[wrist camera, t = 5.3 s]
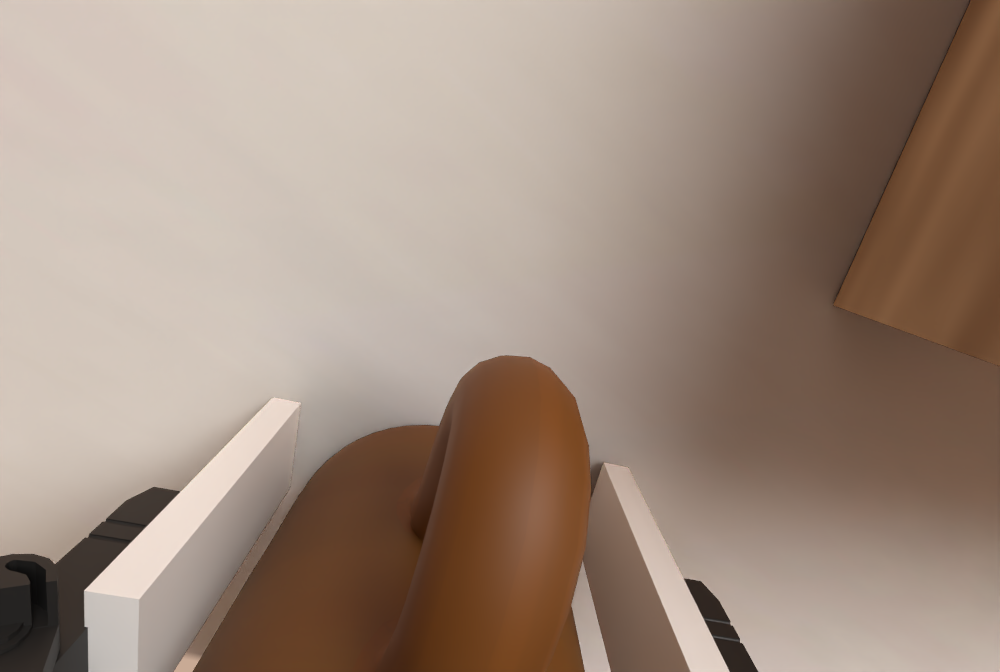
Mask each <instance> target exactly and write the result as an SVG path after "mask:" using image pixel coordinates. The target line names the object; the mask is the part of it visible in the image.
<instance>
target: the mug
mask: <svg viewBox="0 0 1000 672" xmlns="http://www.w3.org/2000/svg"><path fill="white" fill-rule="evenodd" d="M590 497H591V476H590V460H589V445H588V442H587V438H586V435H585V431H584V428H583V424H582V421H581V417H580V413H579V410H578V406H577V403H576V399H575V397H574V396H573V395H572V394H571V392H570V391H569V390H568V389H567V387H566V386H565V385H564V384H563V383H562V381H561V380H560V379H559V378H558V377H557V375H556V374H555V373H554V372H553V371H552V370H551V368H549V367H547V366H545V365H543V364H542V363H540V362H538V361H536V360H534V359H532V358H530V357H521V356H507V355H506V356H498V357H495V358H492V359H489V360H486V361H482V362H479V363H478V364H477V365H476V366H475V367H473V368H472V369H471V370H470V371H469V372H468V373H466V374H465V375H464V376H463V377H462V378H461V380H460V381H459V383H458V385H457V387H456V389H455V391H454V393H453V395H452V397H451V398H450V400H449V403H448V405H447V407H446V409H445V412H444V415H443V417H442V420H441V423H440V426H431V425H412V426H402V427H395V428H390V429H386V430H382V431H379V432H375V433H372V434H370V435H368V436H365V437H363V438H360V439H358V440H356V441H355V442H353V443H351V444H349V445H348V446H346V447H344V448H343V449H342V450H340V451H339V452H338V453H336V454H335V455H334V456H332V457H331V458H330V459H329V460H328V461H327V462H326V463H325V464H324V465H323V466H322V467H321V468H320V469H319V470H318V471H317V472H316V473H315V474H314V475H313V477H312V478H311V479H310V481H309V482H308V484H307V485H306V486H305V488H304V489H303V491H302V492H301V493H300V495H299V496H298V498H297V499H296V501H295V503H294V504H293V506H292V508H291V509H290V511H289V513H288V514H287V516H286V518H285V519H284V521H283V523H282V524H281V526H280V528H279V530H278V531H277V533H276V535H275V536H274V538H273V540H272V541H271V543H270V544H269V546H268V548H267V549H266V551H265V552H264V554H263V556H262V557H261V559H260V560H259V562H258V564H257V565H256V567H255V568H254V570H253V572H252V573H251V575H250V576H249V578H248V580H247V581H246V583H245V585H244V586H243V588H242V590H241V591H240V593H239V595H238V596H237V598H236V600H235V601H234V603H233V605H232V606H231V608H230V610H229V611H228V613H227V615H226V617H225V618H224V620H223V622H222V623H221V625H220V627H219V628H218V630H217V632H216V633H215V635H214V637H213V638H212V640H211V642H210V643H209V645H208V647H207V648H206V650H205V652H204V654H203V655H202V657H201V659H200V660H199V662H198V664H197V665H196V667H195V669H194V670H193V672H585V670H584V665H583V660H582V655H581V650H580V645H579V640H578V635H577V630H576V626H575V621H574V616H573V611H572V607H571V603H572V599H573V595H574V592H575V588H576V584H577V580H578V576H579V572H580V568H581V564H582V560H583V556H584V552H585V548H586V539H587V529H588V518H589V507H590Z"/></svg>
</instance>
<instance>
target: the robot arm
mask: <svg viewBox="0 0 1000 672" xmlns="http://www.w3.org/2000/svg"><path fill="white" fill-rule="evenodd" d="M300 407H301V403H299V402H294V401H289V400H284V399H279V398H274V397H273V398H272V399H271V400H270V401H269V402H268V403H267V404H266V405H265V406H264V407H263V408H262V409H261V410H260V411H259V412H258V413H257V414H256V415H255V416H254V417H253V418H252V419H251V420H250V421H249V422H248V423H247V424H246V425H245V426H244V427H243V428H242V429H241V430H240V431H239V432H238V433H237V434H236V435H235V436H234V438H233V439H232V440H231V441H230V442H229V443H228V444H227V445H226V446H225V447H224V448H223V449H222V450H221V451H220V452H219V453H218V454H217V455H216V456H215V457H214V458H213V459H212V460H211V461H210V462H209V463H208V464H207V465H206V466H205V467H204V468H203V469H202V470H201V471H200V472H199V473H198V474H197V475H196V476H195V478H194V479H193V480H192V481H191V482H190V483H189V484H188V485H187V486H186V487H185V488H184V489H183V490H182V491H181V492H180V491H174V490H168V489H163V488H157V487H153V488H151V489H149V490H147V491H145V492H143V493H141V494H139V495H137V496H135V497H133V498H131V499H129V500H127V501H125V502H124V503H123V504H122V505H121V506H120V507H119V508H118V509H117V510H115V511H114V512H113V513H112V514H111V515H110V516H109V517H108V518H107V519H106V521H105V522H102V523H101V524H100V525H99V526H98V527H96V528H95V529H94V530H93V531H92V532H91V533H90V534H89V537H88V538H84V539H83V540H82V541H81V542H80V543H79V544H77V545H76V546H75V547H74V548H73V549H72V550H71V551H70V552H69V553H67V554H66V555H65V556H64V557H63V558H62V559H61V560H60V561H58V562H57V563H56V564H54V563H53V562H52V561H51V560H50V559H49V558H45V557H42V556H38V555H35V554H11V555H6V556H1V557H0V672H174V670H175V669H176V667H177V665H178V664H179V662H180V661H181V659H182V657H183V656H184V654H185V653H186V651H187V650H188V648H189V646H190V645H191V643H192V642H193V640H194V639H195V637H196V635H197V634H198V632H199V631H200V629H201V627H202V626H203V624H204V623H205V621H206V620H207V618H208V616H209V615H210V613H211V612H212V610H213V609H214V607H215V605H216V604H217V602H218V601H219V599H220V597H221V596H222V594H223V593H224V591H225V590H226V588H227V586H228V585H229V583H230V582H231V580H232V579H233V577H234V575H235V574H236V572H237V571H238V569H239V567H240V566H241V564H242V563H243V561H244V560H245V558H246V556H247V555H248V553H249V552H250V550H251V549H252V547H253V545H254V544H255V542H256V541H257V539H258V537H259V536H260V534H261V533H262V531H263V530H264V528H265V526H266V525H267V523H268V522H269V520H270V519H271V517H272V515H273V514H274V512H275V511H276V509H277V507H278V506H279V504H280V503H281V501H282V500H283V498H284V496H285V495H286V493H287V492H288V490H289V488H290V485H291V478H292V470H293V462H294V454H295V446H296V439H297V431H298V423H299V415H300ZM583 563H584V567H585V571H586V575H587V579H588V582H589V586H590V590H591V594H592V598H593V602H594V606H595V610H596V614H597V618H598V622H599V626H600V630H601V634H602V638H603V642H604V645H605V649H606V653H607V657H608V661H609V665H610V669H611V672H758V671H757V669H756V667H755V665H754V663H753V662H752V660H751V658H750V656H749V654H748V653H747V651H746V649H745V647H744V645H743V644H742V643H740V638H739V636H738V634H737V633H736V631H735V629H734V627H733V626H731V625H730V620H729V618H728V616H727V614H726V613H725V611H724V609H723V607H722V605H721V604H720V602H719V600H718V599H717V598H716V597H715V596H714V595H713V594H712V593H711V592H710V591H709V590H708V589H707V587H706V586H705V585H704V584H703V583H702V582H701V581H696V580H690V579H684V578H683V576H682V574H681V572H680V570H679V568H678V566H677V564H676V562H675V560H674V558H673V556H672V554H671V552H670V550H669V548H668V546H667V544H666V542H665V540H664V538H663V536H662V534H661V532H660V530H659V528H658V526H657V524H656V522H655V520H654V518H653V516H652V514H651V512H650V510H649V508H648V506H647V504H646V502H645V500H644V498H643V496H642V494H641V492H640V490H639V487H638V485H637V483H636V481H635V479H634V477H633V475H632V473H631V471H630V469H629V467H625V466H620V465H615V464H610V463H605V462H604V463H603V465H602V468H601V471H600V474H599V477H598V480H597V483H596V486H595V489H594V492H593V495H592V498H591V501H590V507H589V518H588V529H587V539H586V548H585V552H584V556H583Z"/></svg>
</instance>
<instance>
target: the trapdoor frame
mask: <svg viewBox="0 0 1000 672" xmlns="http://www.w3.org/2000/svg"><path fill="white" fill-rule="evenodd" d="M833 306H836V307H839V308H842V309H844V310H847V311H850V312H853V313H855V314H858V315H861V316H864V317H866V318H869V319H872V320H874V321H877V322H880V323H883V324H885V325H888V326H891V327H894V328H896V329H899V330H902V331H904V332H907V333H910V334H913V335H915V336H918V337H921V338H924V339H926V340H929V341H932V342H935V343H937V344H940V345H943V346H945V347H948V348H951V349H954V350H956V351H959V352H962V353H965V354H967V355H970V356H973V357H975V358H978V359H981V360H984V361H986V362H989V363H992V364H995V365H997V366H1000V0H971V1H970V3H969V6H968V8H967V10H966V12H965V14H964V17H963V19H962V21H961V23H960V26H959V28H958V30H957V32H956V34H955V37H954V39H953V41H952V43H951V45H950V48H949V50H948V52H947V54H946V57H945V59H944V61H943V63H942V65H941V68H940V70H939V72H938V74H937V76H936V79H935V81H934V83H933V85H932V88H931V90H930V92H929V94H928V96H927V99H926V101H925V103H924V105H923V107H922V110H921V112H920V114H919V116H918V119H917V121H916V123H915V125H914V127H913V130H912V132H911V134H910V136H909V138H908V141H907V143H906V145H905V147H904V149H903V152H902V154H901V156H900V158H899V161H898V163H897V165H896V167H895V169H894V172H893V174H892V176H891V178H890V180H889V183H888V185H887V187H886V189H885V192H884V194H883V196H882V198H881V200H880V203H879V205H878V207H877V209H876V211H875V214H874V216H873V218H872V220H871V223H870V225H869V227H868V229H867V231H866V234H865V236H864V238H863V240H862V242H861V245H860V247H859V249H858V251H857V254H856V256H855V258H854V260H853V262H852V265H851V267H850V269H849V271H848V273H847V276H846V278H845V280H844V282H843V285H842V287H841V289H840V291H839V293H838V296H837V298H836V300H835V302H834V304H833Z"/></svg>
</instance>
